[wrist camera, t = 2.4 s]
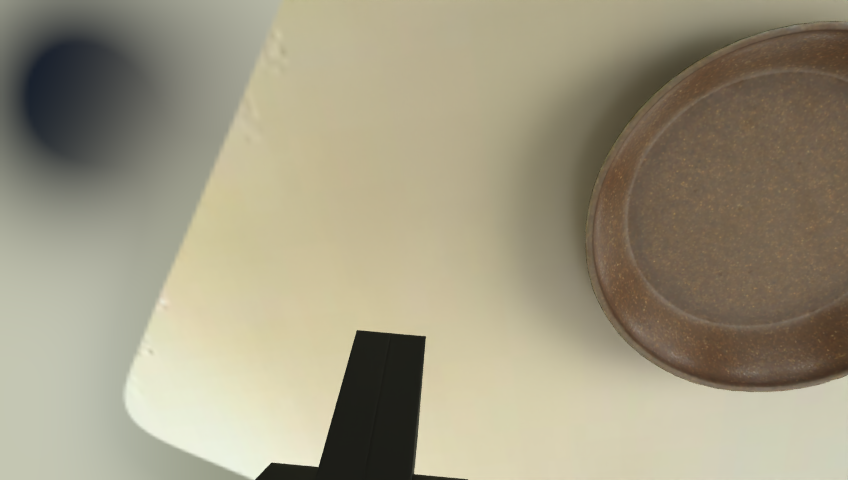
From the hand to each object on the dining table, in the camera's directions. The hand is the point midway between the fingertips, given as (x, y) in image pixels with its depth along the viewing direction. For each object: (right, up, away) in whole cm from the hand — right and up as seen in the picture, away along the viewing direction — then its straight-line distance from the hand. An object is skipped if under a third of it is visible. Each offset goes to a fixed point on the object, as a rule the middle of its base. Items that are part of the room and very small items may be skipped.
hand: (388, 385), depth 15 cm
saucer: (+14, +5, +13) cm, 20 cm away
